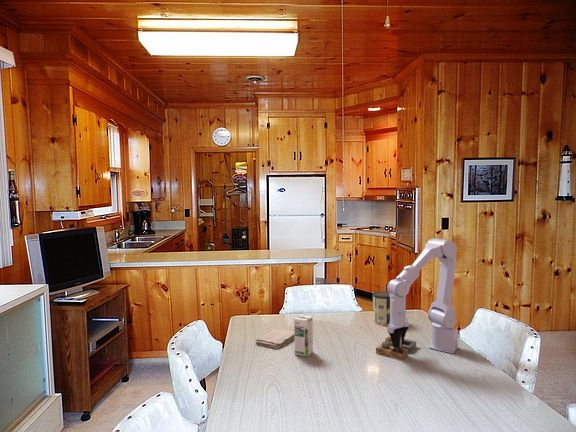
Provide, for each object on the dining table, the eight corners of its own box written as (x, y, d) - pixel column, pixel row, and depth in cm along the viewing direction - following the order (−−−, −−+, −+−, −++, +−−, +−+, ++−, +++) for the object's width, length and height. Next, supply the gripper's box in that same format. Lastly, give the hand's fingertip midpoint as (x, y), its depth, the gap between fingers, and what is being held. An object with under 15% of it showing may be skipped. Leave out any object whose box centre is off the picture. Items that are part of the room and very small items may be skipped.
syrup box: (294, 354, 150) (293, 318, 150) (300, 349, 156) (300, 314, 155) (307, 357, 148) (306, 320, 147) (313, 351, 153) (313, 316, 152)
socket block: (416, 346, 156) (416, 341, 156) (409, 353, 150) (409, 347, 150) (395, 341, 162) (395, 336, 162) (387, 348, 156) (387, 342, 155)
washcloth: (254, 345, 162) (254, 338, 161) (277, 332, 177) (276, 325, 177) (278, 351, 155) (277, 343, 155) (299, 336, 171) (299, 330, 171)
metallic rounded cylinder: (401, 353, 149) (401, 330, 148) (401, 356, 146) (401, 332, 145) (393, 352, 150) (393, 329, 149) (393, 355, 147) (393, 331, 146)
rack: (408, 355, 148) (408, 345, 148) (403, 360, 144) (403, 349, 144) (381, 349, 154) (381, 339, 154) (375, 353, 151) (375, 343, 150)
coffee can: (391, 318, 192) (391, 291, 192) (396, 325, 182) (396, 296, 181) (370, 319, 193) (370, 291, 192) (375, 325, 182) (374, 296, 182)
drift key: (399, 345, 158) (399, 339, 158) (396, 347, 156) (396, 341, 156) (388, 342, 161) (388, 336, 161) (385, 345, 159) (385, 338, 158)
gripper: (400, 318, 139) (400, 354, 139) (415, 308, 150) (415, 342, 150) (382, 314, 143) (382, 350, 144) (398, 305, 154) (398, 338, 155)
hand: (398, 346), depth 147 cm, fingers closed on metallic rounded cylinder, 3 cm apart
